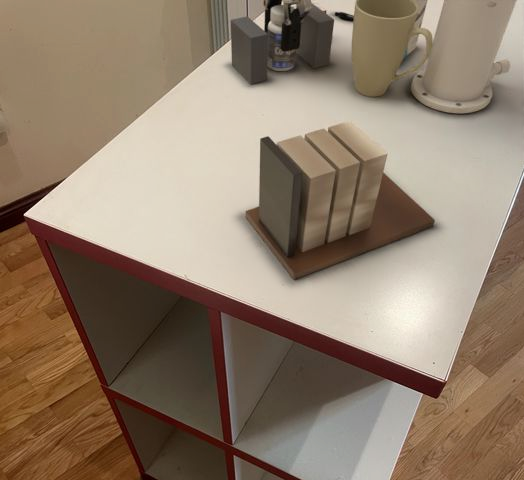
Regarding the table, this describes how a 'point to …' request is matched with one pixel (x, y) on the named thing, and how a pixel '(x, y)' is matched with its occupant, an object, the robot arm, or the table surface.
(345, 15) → the pen
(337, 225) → the bookend with books
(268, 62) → the pill bottle
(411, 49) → the ink box
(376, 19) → the mug
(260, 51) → the grey bookends
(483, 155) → the table surface
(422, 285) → the table surface
